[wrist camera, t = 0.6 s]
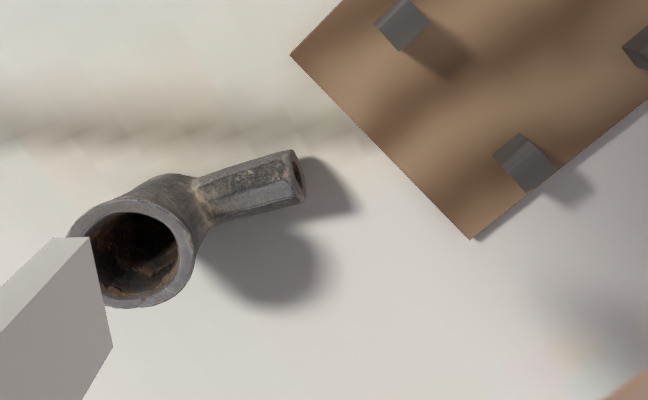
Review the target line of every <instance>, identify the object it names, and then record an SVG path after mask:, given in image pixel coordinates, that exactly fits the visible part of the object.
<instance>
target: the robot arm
mask: <svg viewBox="0 0 648 400" xmlns="http://www.w3.org/2000/svg"><path fill="white" fill-rule="evenodd" d="M112 348H113V344H112V339H111V335H110V330H109V326H108V321H107V316H106V312H105V307H104V303H103V298H102V293H101V289H100V284H99V280H98V275H97V270H96V266H95V261H94V257H93V252H92V247H91V243H90V238H89V237H70V238H52V239H51V240H50V241H49V242H48V243H47V244H46V245H45V246H44V247H43V248H42V249H41V250H40V251H39V252H38V253H37V254H35V255H34V256H33V257H32V258H31V259H30V260H29V261H28V262H27V263H26V264H25V265H24V266H23V267H22V268H21V269H20V270H18V271H17V272H16V273H15V274H14V275H13V276H12V277H11V278H10V279H9V280H8V281H7V282H6V283H5V284H4V285H3V286H2V287H0V400H82V399H83V397H84V395H85V394H86V392H87V390H88V389H89V387H90V385H91V384H92V382H93V380H94V378H95V377H96V375H97V373H98V372H99V370H100V368H101V366H102V365H103V363H104V361H105V360H106V358H107V356H108V355H109V353H110V351H111V349H112Z"/></svg>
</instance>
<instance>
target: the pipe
mask: <svg viewBox="0 0 648 400" xmlns="http://www.w3.org/2000/svg"><path fill="white" fill-rule="evenodd" d="M305 198H306V189H305V180H304V175H303V173H302V170H301V167H300V164H299V162H298V159H297V156H296V154H295V152H294V150H292V149H291V150H286V151H281V152H277V153H274V154H271V155H267V156H264V157H261V158H257V159H254V160H251V161H247V162H244V163H241V164H238V165H235V166H231V167H228V168H225V169H222V170H220V171H217V172H214V173H211V174H208V175H205V176H202V177H200V178H194V179H193V178H191V177H189V176H185V175H181V174H165V175H160V176H156V177H154V178H152V179H150V180H148V181H146V182H144V183H142V184H141V185H139V186H138V187H136V188H135V189H133V190H132V191H130V192H128V193H126V194H124V195H122V196H120V197H118V198H115V199H113V200H110V201H107V202H105V203H102V204H100V205H97V206H95V207H93V208H91V209H90V210H88V211H87V212H86V213H84V214H83V215H82V216H81V217H80V218H79V219H78V220H77V221H76V222H75V223H74V224H73V226H72V227H71V229H70V230H69V232H68V234H67V236H66V238H70V237H89V238H90V243H91V247H92V252H93V257H94V261H95V266H96V270H97V275H98V280H99V284H100V289H101V293H102V298H103V303H104V306H109V307H113V308H123V309H130V308H137V307H150V306H154V305H157V304H160V303H162V302H165V301H167V300H169V299H171V298H172V297H174V296H176V295H177V294H178V293H179V292H180V291H181V290H182V289H183V288H184V287H185V285H186V284H187V282H188V281H189V279H190V277H191V274H192V272H193V269H194V263H195V258H196V254H197V251H198V248H199V247H200V245H201V243H202V240H203V238H204V237H205V235H206V233H207V231H208V230H209V228H210V227H211V226H213V225H216V224H220V223H223V222H227V221H230V220H234V219H237V218H241V217H245V216H249V215H254V214H258V213H262V212H267V211H271V210H275V209H278V208H283V207H287V206H291V205H296V204H300V203H302V202H303V201H304V199H305Z"/></svg>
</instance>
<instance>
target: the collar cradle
mask: <svg viewBox="0 0 648 400" xmlns="http://www.w3.org/2000/svg"><path fill="white" fill-rule="evenodd" d="M290 56H291V57H292V58H293V59H294V60H295V61H296V62H297V64H298V65H299V66H300V67H301V68H302V69H303V70H304V71H305V72H306V73H307V74H308V75H309V76H310V77H311V78H312V79H313V80H314V81H315V82H316V83H317V84H318V85H319V86H320V87H321V88H322V89H323V90H324V91H325V92H326V93H327V94H328V95H329V96H330V97H331V98H332V100H333V101H334V102H335V103H336V104H337V105H338V106H339V107H340V108H341V109H342V110H343V111H344V112H345V113H346V114H347V115H348V116H349V117H350V118H351V119H352V120H353V121H354V122H355V123H356V124H357V125H358V126H359V127H360V128H361V129H362V130H363V131H364V132H365V133H366V134H367V136H368V137H369V138H370V139H371V140H372V141H373V142H374V143H375V144H376V145H377V146H378V147H379V148H380V149H381V150H382V151H383V152H384V153H385V154H386V155H387V156H388V157H389V158H390V159H391V160H392V161H393V162H394V163H395V164H396V165H397V166H398V167H399V168H400V169H401V170H402V172H403V173H404V174H405V175H406V176H407V177H408V178H409V179H410V180H411V181H412V182H413V183H414V184H415V185H416V186H417V187H418V188H419V189H420V190H421V191H422V192H423V193H424V194H425V195H426V196H427V197H428V198H429V199H430V200H431V201H432V202H433V203H434V204H435V205H436V206H437V207H438V209H439V210H440V211H441V212H442V213H443V214H444V215H445V216H446V217H447V218H448V219H449V220H450V221H451V222H452V223H453V224H454V225H455V226H456V227H457V228H458V229H459V230H460V231H461V232H462V233H463V234H464V235H465V236H466V237H467V238H468V239H469V240H471V239H472V238H473V237H474V236H476V235H477V234H478V233H479V232H481V231H482V230H483V229H484V228H486V227H487V226H488V225H489V224H491V223H492V222H493V221H494V220H496V219H497V218H498V217H500V216H501V215H502V214H503V213H505V212H506V211H507V210H508V209H510V208H511V207H512V206H513V205H515V204H516V203H517V202H518V201H520V200H521V199H522V198H523V197H525V196H526V195H527V194H528V193H530V192H531V191H532V190H533V189H535V188H536V187H537V186H538V185H540V184H541V183H542V182H543V181H545V180H546V179H547V178H549V177H550V176H551V175H552V174H554V173H555V172H556V171H557V170H559V169H560V168H561V167H562V166H564V165H565V164H566V163H567V162H569V161H570V160H571V159H572V158H574V157H575V156H576V155H577V154H579V153H580V152H581V151H582V150H584V149H585V148H586V147H587V146H589V145H590V144H591V143H592V142H594V141H595V140H596V139H598V138H599V137H600V136H601V135H603V134H604V133H605V132H606V131H608V130H609V129H610V128H611V127H613V126H614V125H615V124H616V123H618V122H619V121H620V120H621V119H623V118H624V117H625V116H626V115H628V114H629V113H630V112H631V111H633V110H634V109H635V108H636V107H638V106H639V105H640V104H641V103H643V102H644V101H645V100H647V99H648V0H342V1H341V2H340V3H339V4H338V6H337V7H336V8H335V9H334V10H333V11H332V12H331V13H330V14H329V15H328V16H327V17H326V18H325V19H324V20H323V21H322V22H321V23H320V24H319V25H318V26H317V27H316V28H315V29H314V30H313V31H312V32H311V33H310V34H309V35H308V36H307V37H306V38H305V39H304V40H303V41H302V42H301V43H300V44H299V45H298V46H297V47H296V48H295V49H294V50H293V51H292V52H291V54H290Z"/></svg>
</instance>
